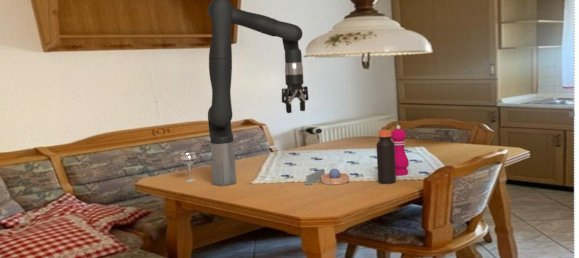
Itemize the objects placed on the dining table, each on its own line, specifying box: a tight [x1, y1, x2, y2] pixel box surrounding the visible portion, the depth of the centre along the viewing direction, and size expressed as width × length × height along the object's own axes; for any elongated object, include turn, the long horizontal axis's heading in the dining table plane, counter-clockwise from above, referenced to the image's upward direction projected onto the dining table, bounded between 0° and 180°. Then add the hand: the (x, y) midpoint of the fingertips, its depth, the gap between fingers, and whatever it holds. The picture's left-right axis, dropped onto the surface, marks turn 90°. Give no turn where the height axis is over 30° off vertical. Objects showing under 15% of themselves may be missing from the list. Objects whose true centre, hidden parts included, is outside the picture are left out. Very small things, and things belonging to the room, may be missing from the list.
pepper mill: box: [391, 124, 410, 176], centre depth 231 cm, size 7×7×20 cm
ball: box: [328, 168, 341, 178], centre depth 225 cm, size 4×4×4 cm
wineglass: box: [180, 151, 197, 183], centre depth 246 cm, size 7×7×12 cm
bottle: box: [376, 129, 397, 185], centre depth 218 cm, size 7×7×20 cm
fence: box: [303, 168, 326, 186], centre depth 229 cm, size 14×3×4 cm, turn 149°
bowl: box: [320, 172, 350, 186], centre depth 226 cm, size 11×11×2 cm
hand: (296, 111), depth 241 cm, fingers open, 8 cm apart
